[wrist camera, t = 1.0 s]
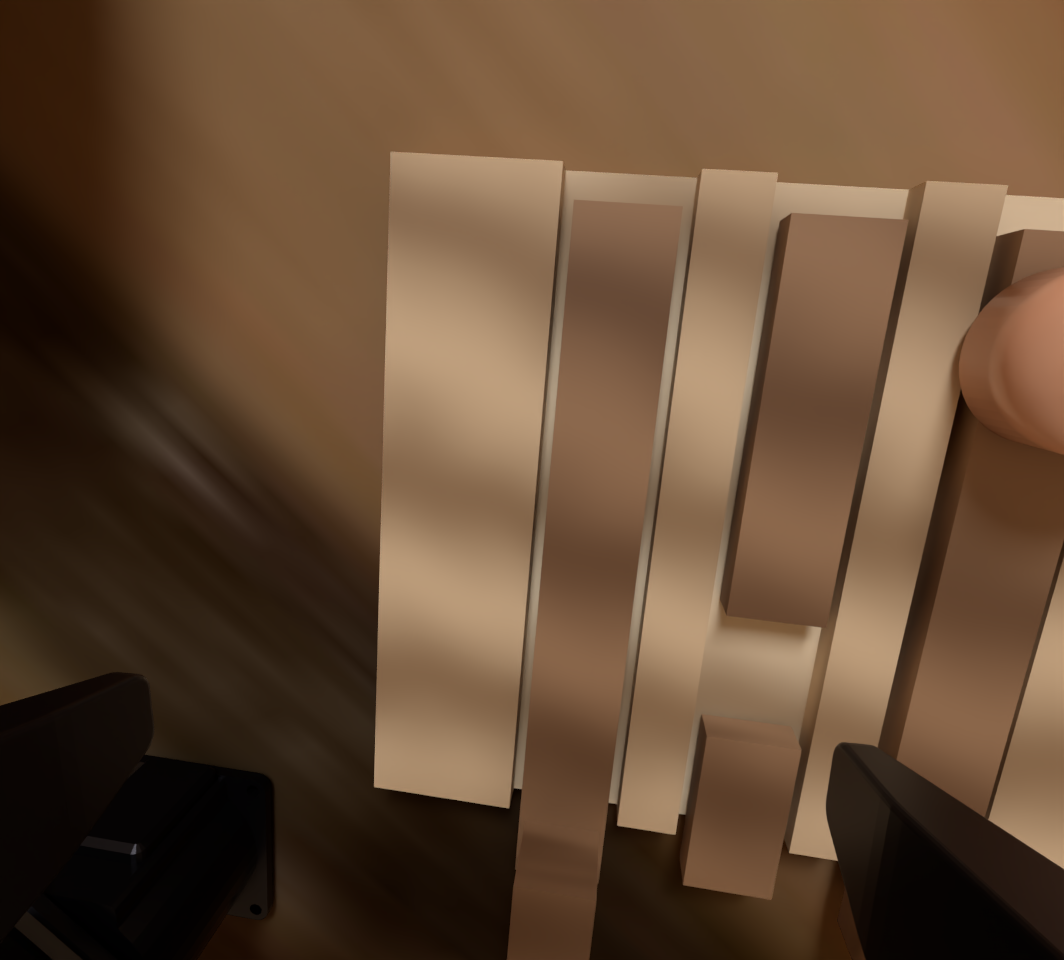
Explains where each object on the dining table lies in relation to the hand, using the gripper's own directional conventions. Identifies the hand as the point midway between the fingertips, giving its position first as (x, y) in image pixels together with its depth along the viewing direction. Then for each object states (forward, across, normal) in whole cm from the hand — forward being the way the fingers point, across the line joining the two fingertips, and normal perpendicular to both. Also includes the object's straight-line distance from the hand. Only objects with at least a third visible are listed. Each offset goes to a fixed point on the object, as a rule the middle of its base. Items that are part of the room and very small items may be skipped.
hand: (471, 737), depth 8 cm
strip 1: (+12, -1, +3) cm, 12 cm away
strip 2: (+12, -12, +3) cm, 17 cm away
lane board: (+13, -7, +1) cm, 15 cm away
